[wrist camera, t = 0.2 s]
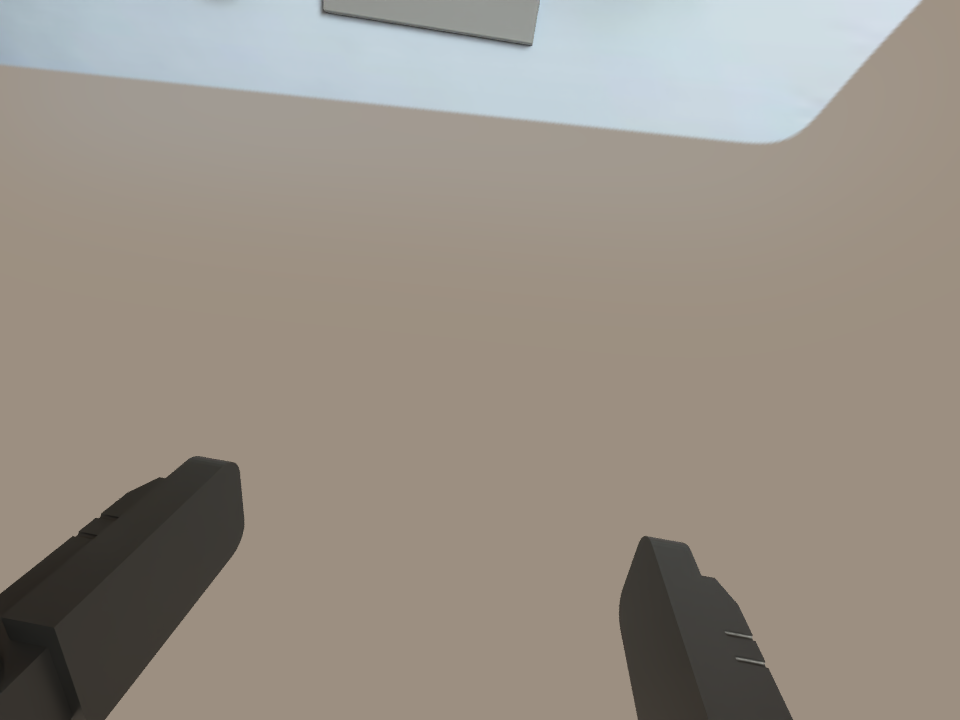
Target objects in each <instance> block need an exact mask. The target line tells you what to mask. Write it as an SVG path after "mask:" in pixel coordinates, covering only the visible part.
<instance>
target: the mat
mask: <svg viewBox="0 0 960 720" xmlns="http://www.w3.org/2000/svg"><path fill="white" fill-rule="evenodd" d="M539 2H540V0H323V10H325V11H326V12H327V13H333V14H340V15H346V16H352V17H358V18H365V19H371V20H377V21H383V22H389V23H396V24H402V25H408V26H414V27H420V28H427V29H433V30H439V31H445V32H451V33H458V34H464V35H470V36H476V37H483V38H489V39H495V40H501V41H507V42H514V43H520V44H526V45H532V44H533V38H534V32H535V26H536V20H537V14H538V8H539Z"/></svg>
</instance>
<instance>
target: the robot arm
mask: <svg viewBox="0 0 960 720" xmlns="http://www.w3.org/2000/svg"><path fill="white" fill-rule="evenodd" d="M243 530H244V512H243V502H242V491H241V480H240V471H239V467H238V466H237V464H236V463H233V462H229V461H223V460H217V459H211V458H206V457H200V456H195V457H192V458H190V459H188V460H187V461H186V462H184V463H183V464H182V465H181V466H180V467H179V468H177V469H176V470H175V471H174V472H173V473H171V474H170V475H169V476H168V477H167V478H160V477H159V478H157V479H155V480H153V481H151V482H149V483H147V484H145V485H143V486H141V487H138V488H136V489H134V490H132V491H130V492H129V493H126V494H125V495H124V496H123V497H122V498H120V499H119V500H118V501H116V502H115V503H114V504H113V505H111V506H110V507H109V508H108V509H106V510H105V511H104V512H103V513H102V514H101V517H100V518H95V519H94V520H93V521H91V522H90V523H89V524H88V525H86V526H85V527H84V528H82V529H81V530H80V531H79V534H78V535H77V536H76V537H74V536H72V537H71V538H70V539H69V540H67V541H66V542H65V543H64V544H62V545H61V546H60V547H59V548H58V549H56V550H55V551H54V552H52V553H51V554H50V555H49V556H47V557H46V558H45V559H44V560H42V561H41V562H40V563H39V564H37V565H36V566H35V567H34V568H32V569H31V570H30V571H28V572H27V573H26V574H25V575H23V576H22V577H21V578H20V579H18V580H17V581H16V582H15V583H13V584H12V585H11V586H10V587H8V588H7V589H6V590H5V591H3V592H2V593H1V594H0V720H105V719H106V718H107V716H108V715H109V714H110V712H111V711H112V710H113V709H114V707H115V706H116V705H117V703H118V702H119V701H120V700H121V698H122V697H123V696H124V694H125V693H126V692H127V691H128V689H129V688H130V686H131V685H132V684H133V683H134V682H135V680H136V679H137V678H138V676H139V675H140V674H141V673H142V671H143V670H144V669H145V667H146V666H147V665H148V663H149V662H150V661H151V660H152V658H153V657H154V656H155V655H156V653H157V652H158V651H159V649H160V648H161V647H162V646H163V644H164V643H165V642H166V640H167V639H168V638H169V636H170V635H171V634H172V633H173V631H174V630H175V629H176V627H177V626H178V625H179V624H180V622H181V621H182V620H183V619H184V617H185V616H186V615H187V613H188V612H189V611H190V610H191V608H192V607H193V606H194V604H195V603H196V602H197V601H198V599H199V598H200V597H201V595H202V594H203V593H204V592H205V590H206V589H207V588H208V586H209V585H210V584H211V582H212V581H213V580H214V579H215V577H216V576H217V575H218V574H219V572H220V571H221V570H222V568H223V567H224V566H225V565H226V563H227V562H228V561H229V559H230V558H231V557H232V555H233V554H234V552H235V551H236V549H237V547H238V545H239V543H240V541H241V538H242V534H243ZM619 622H620V629H621V635H622V640H623V645H624V650H625V655H626V660H627V665H628V670H629V676H630V681H631V686H632V691H633V696H634V701H635V707H636V711H637V716H638V720H793V719H792V717H791V715H790V713H789V710H788V708H787V707H786V704H785V702H784V700H783V698H782V696H781V694H780V692H779V689H778V687H777V685H776V683H775V681H774V679H773V677H772V675H771V673H770V671H769V669H768V668H766V667H765V664H764V663H765V660H764V658H763V656H762V654H761V652H760V650H759V648H758V646H757V644H756V641H753V640H752V633H751V631H750V629H749V627H748V625H747V623H746V620H745V618H744V616H743V614H742V612H741V610H740V608H739V606H738V604H737V603H736V602H735V601H734V600H733V599H732V597H731V596H730V595H729V594H728V593H727V592H726V590H725V589H724V588H723V587H722V586H721V585H720V584H719V582H718V581H717V580H716V579H715V578H712V577H706V576H701V574H700V572H699V569H698V567H697V564H696V562H695V559H694V557H693V555H692V552H691V550H690V548H689V547H688V545H686V544H685V543H681V542H676V541H670V540H665V539H659V538H653V537H648V536H644V537H642V538H641V540H640V542H639V544H638V547H637V550H636V553H635V555H634V558H633V561H632V564H631V567H630V570H629V573H628V575H627V578H626V581H625V584H624V587H623V590H622V593H621V598H620V605H619Z"/></svg>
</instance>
